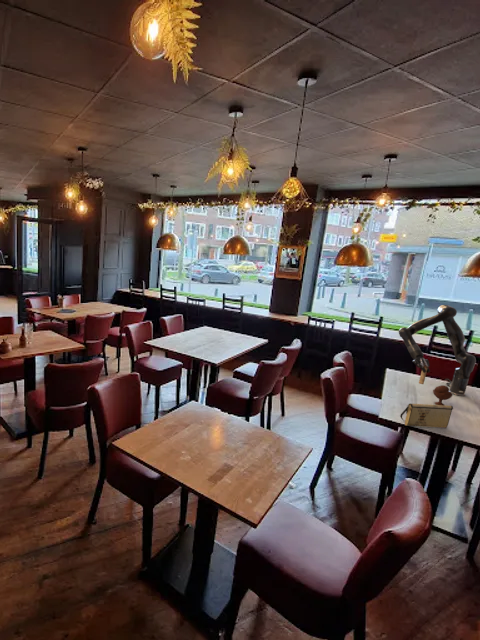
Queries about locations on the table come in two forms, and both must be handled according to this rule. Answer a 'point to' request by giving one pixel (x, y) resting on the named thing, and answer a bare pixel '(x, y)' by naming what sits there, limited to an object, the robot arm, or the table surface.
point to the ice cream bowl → (442, 394)
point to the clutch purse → (427, 415)
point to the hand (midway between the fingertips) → (427, 372)
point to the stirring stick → (423, 375)
